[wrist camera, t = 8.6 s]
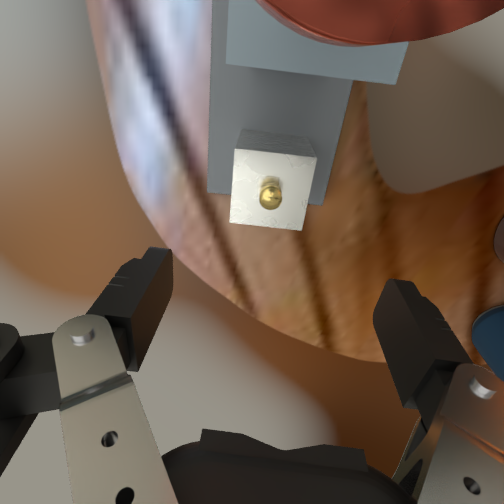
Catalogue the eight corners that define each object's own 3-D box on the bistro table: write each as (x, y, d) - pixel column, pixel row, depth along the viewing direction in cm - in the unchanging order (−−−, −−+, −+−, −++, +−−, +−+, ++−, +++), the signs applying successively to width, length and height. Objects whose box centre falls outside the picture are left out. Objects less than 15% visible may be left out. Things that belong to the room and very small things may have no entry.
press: (378, -42, 19) (561, -207, 7) (320, 200, 28) (359, 306, 16) (217, -64, 19) (132, -269, 7) (209, 187, 27) (164, 285, 16)
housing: (306, 136, 24) (320, 163, 18) (295, 197, 26) (303, 239, 20) (241, 128, 24) (232, 153, 17) (236, 190, 26) (227, 230, 20)
